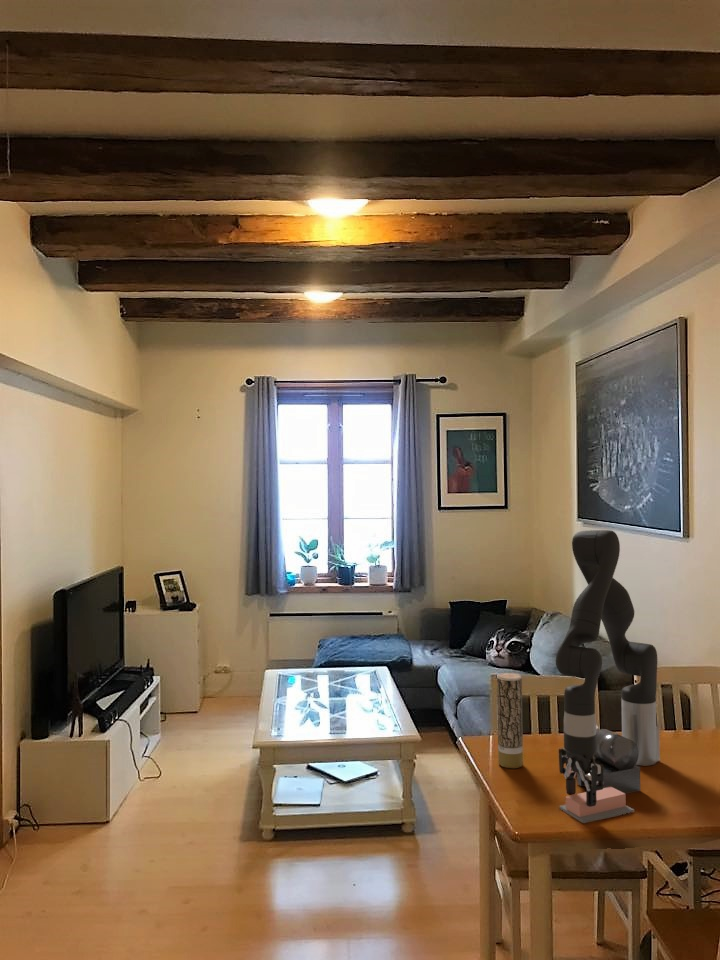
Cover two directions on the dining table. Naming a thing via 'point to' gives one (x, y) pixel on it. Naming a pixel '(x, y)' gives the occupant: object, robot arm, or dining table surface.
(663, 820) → the dining table surface
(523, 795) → the dining table surface
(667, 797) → the dining table surface
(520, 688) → the bark print canister
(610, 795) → the pink block
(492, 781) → the dining table surface
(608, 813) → the mat
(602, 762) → the dispenser
